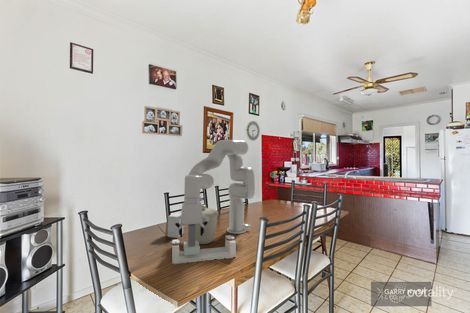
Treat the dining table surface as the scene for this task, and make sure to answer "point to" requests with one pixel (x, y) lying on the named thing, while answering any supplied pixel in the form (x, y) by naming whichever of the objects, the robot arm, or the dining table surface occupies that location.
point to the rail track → (203, 256)
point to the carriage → (191, 242)
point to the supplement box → (173, 226)
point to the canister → (207, 226)
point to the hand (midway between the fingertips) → (191, 235)
